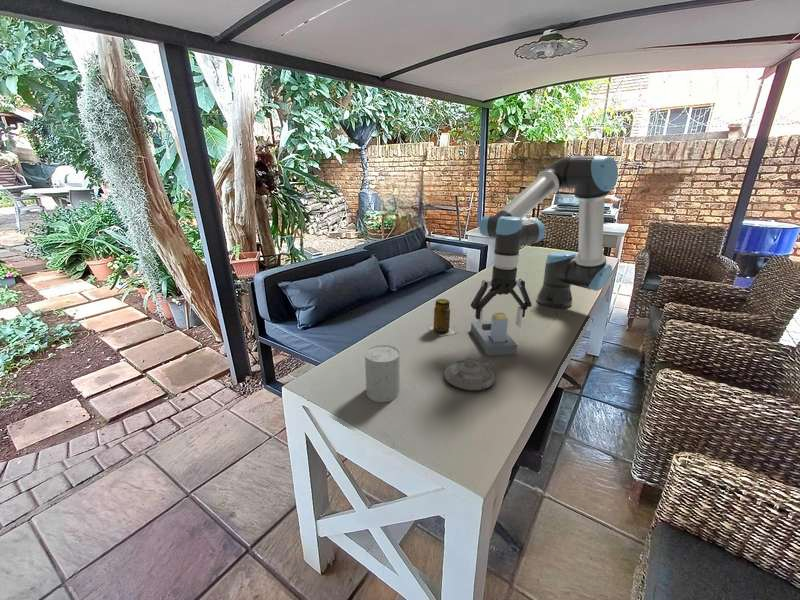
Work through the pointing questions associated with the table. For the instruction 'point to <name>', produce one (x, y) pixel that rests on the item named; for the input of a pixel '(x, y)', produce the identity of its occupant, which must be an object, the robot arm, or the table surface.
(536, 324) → the table surface
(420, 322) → the table surface
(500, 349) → the panel
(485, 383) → the flying saucer
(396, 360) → the pale grey cylinder
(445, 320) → the condiment
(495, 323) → the plug
